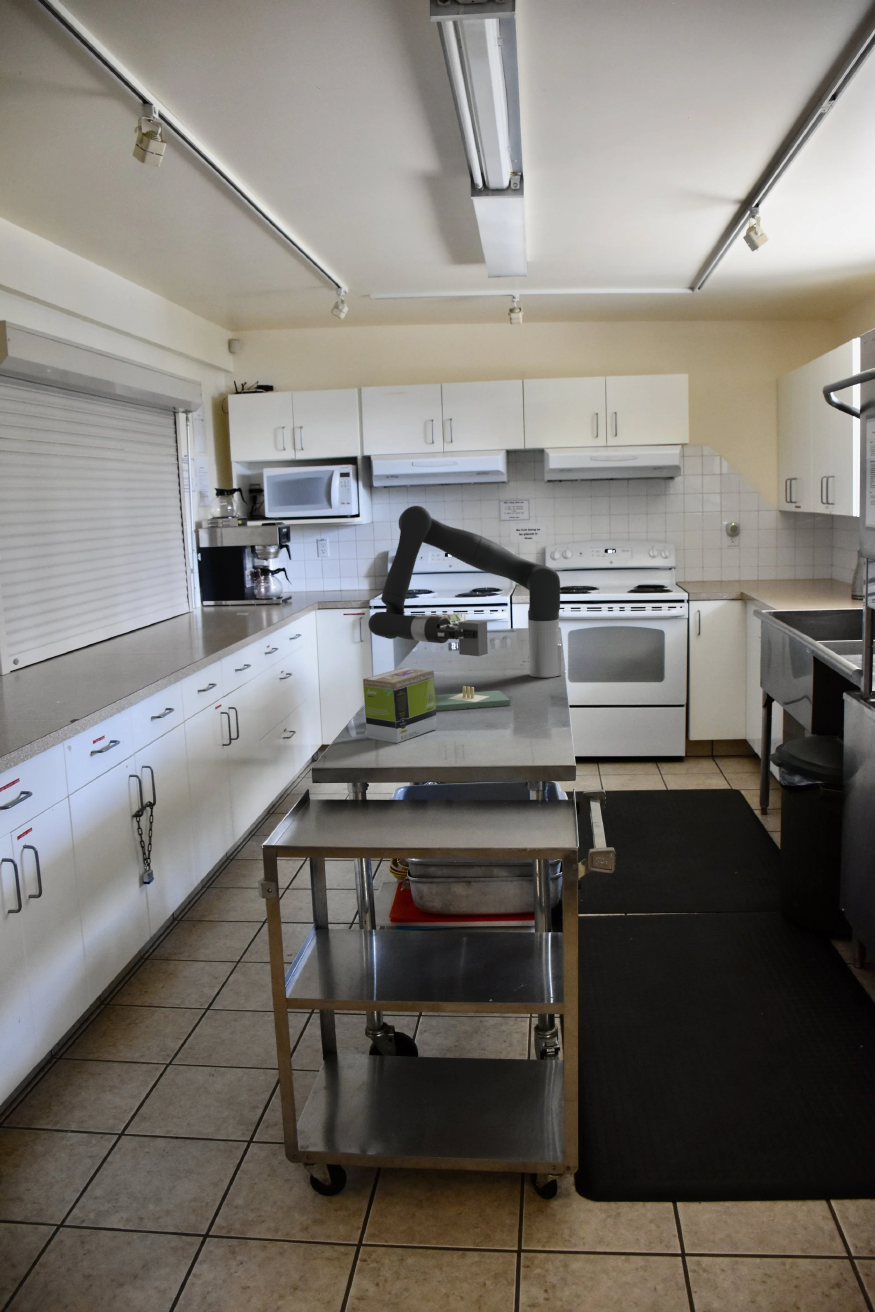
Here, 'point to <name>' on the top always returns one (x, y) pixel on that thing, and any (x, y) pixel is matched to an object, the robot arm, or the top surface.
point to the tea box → (400, 704)
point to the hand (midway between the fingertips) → (481, 633)
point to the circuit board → (470, 700)
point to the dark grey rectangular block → (474, 645)
